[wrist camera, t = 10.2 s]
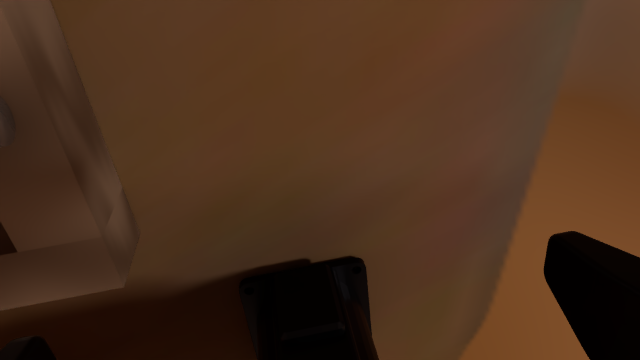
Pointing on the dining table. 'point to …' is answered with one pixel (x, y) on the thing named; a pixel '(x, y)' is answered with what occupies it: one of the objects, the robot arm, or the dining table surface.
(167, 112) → the dining table surface
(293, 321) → the robot arm
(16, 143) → the grey flat frame
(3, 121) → the hook rod
